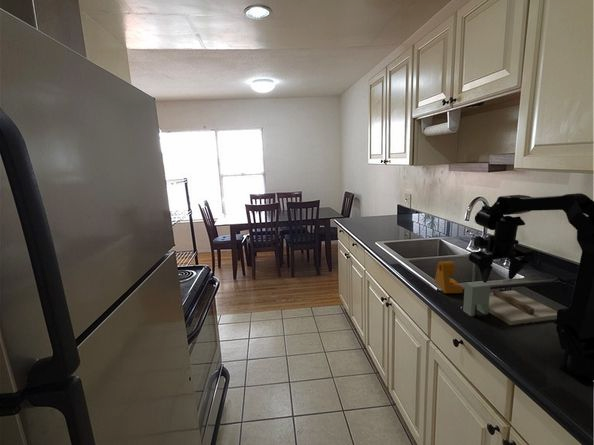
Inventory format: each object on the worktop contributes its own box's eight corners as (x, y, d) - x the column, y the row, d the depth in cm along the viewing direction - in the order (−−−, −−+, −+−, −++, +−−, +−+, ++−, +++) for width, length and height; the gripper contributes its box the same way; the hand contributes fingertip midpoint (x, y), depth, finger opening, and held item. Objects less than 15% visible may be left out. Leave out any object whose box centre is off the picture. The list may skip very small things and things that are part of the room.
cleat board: (562, 318, 106) (563, 308, 105) (509, 325, 103) (510, 315, 102) (513, 293, 125) (514, 285, 124) (468, 299, 123) (468, 290, 122)
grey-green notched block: (488, 314, 111) (490, 285, 109) (470, 316, 110) (472, 287, 108) (480, 308, 115) (481, 280, 113) (463, 310, 114) (464, 282, 112)
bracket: (463, 295, 126) (465, 265, 124) (444, 295, 127) (445, 266, 125) (452, 284, 137) (453, 257, 135) (434, 284, 138) (436, 257, 135)
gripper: (511, 224, 108) (504, 266, 113) (460, 229, 106) (455, 272, 111) (540, 235, 98) (530, 281, 103) (484, 242, 95) (477, 288, 100)
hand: (497, 280), depth 104 cm, fingers open, 9 cm apart
